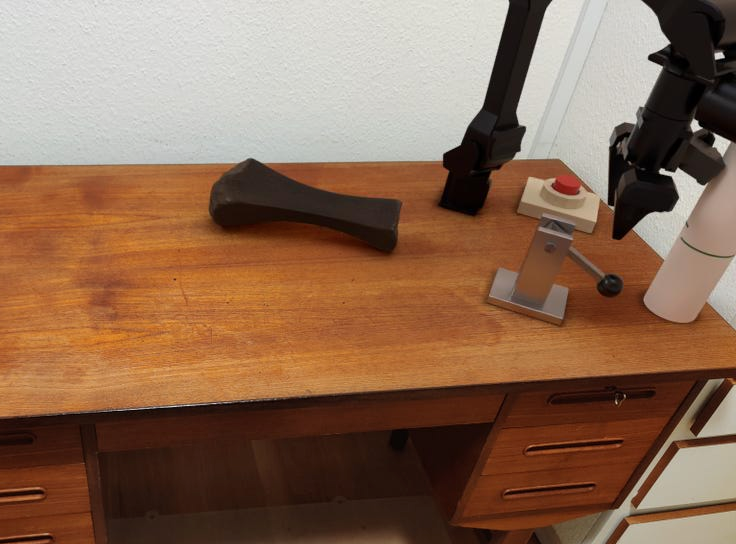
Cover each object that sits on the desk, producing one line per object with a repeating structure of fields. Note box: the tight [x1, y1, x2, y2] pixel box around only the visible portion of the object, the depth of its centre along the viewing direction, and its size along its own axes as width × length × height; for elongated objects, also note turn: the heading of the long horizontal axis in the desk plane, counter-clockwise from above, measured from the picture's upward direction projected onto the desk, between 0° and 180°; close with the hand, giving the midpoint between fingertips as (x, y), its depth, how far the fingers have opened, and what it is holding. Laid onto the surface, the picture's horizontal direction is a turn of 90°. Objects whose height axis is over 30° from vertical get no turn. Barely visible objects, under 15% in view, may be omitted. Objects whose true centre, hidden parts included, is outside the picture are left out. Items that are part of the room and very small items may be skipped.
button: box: [552, 174, 582, 196], centre depth 119 cm, size 4×4×2 cm
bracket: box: [486, 213, 577, 326], centre depth 97 cm, size 10×8×12 cm
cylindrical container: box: [643, 141, 736, 324], centre depth 95 cm, size 7×7×25 cm
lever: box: [545, 221, 625, 299], centre depth 95 cm, size 13×3×3 cm, turn 66°
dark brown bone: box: [208, 157, 403, 251], centre depth 107 cm, size 11×10×28 cm
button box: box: [516, 176, 601, 234], centre depth 120 cm, size 12×10×4 cm
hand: (613, 221), depth 98 cm, fingers open, 9 cm apart
